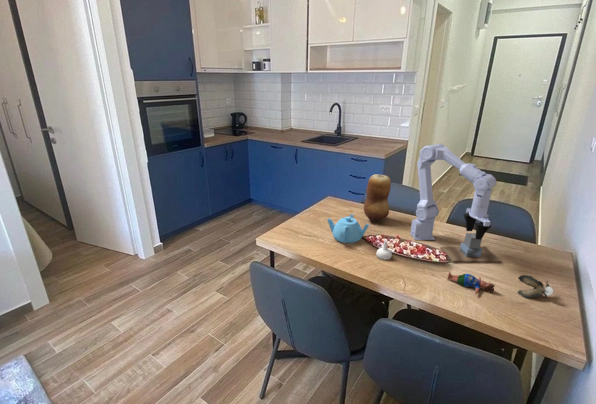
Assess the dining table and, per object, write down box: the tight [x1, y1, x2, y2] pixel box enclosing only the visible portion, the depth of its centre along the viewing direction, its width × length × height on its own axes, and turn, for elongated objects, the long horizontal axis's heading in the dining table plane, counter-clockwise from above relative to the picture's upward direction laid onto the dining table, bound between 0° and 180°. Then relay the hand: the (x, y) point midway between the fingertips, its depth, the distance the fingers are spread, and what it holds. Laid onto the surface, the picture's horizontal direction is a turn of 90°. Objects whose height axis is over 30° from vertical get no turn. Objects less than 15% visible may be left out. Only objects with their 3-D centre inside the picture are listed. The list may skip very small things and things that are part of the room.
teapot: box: [327, 214, 370, 244], centre depth 150 cm, size 15×15×11 cm
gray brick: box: [463, 232, 483, 249], centre depth 133 cm, size 4×4×5 cm
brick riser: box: [439, 242, 503, 264], centre depth 135 cm, size 20×12×4 cm, turn 90°
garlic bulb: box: [375, 239, 393, 261], centre depth 133 cm, size 6×6×8 cm
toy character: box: [447, 271, 496, 295], centre depth 115 cm, size 12×5×15 cm
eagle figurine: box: [517, 274, 554, 298], centre depth 109 cm, size 8×7×9 cm
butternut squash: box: [363, 173, 392, 222], centre depth 167 cm, size 14×13×25 cm
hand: (473, 234), depth 132 cm, fingers open, 7 cm apart
